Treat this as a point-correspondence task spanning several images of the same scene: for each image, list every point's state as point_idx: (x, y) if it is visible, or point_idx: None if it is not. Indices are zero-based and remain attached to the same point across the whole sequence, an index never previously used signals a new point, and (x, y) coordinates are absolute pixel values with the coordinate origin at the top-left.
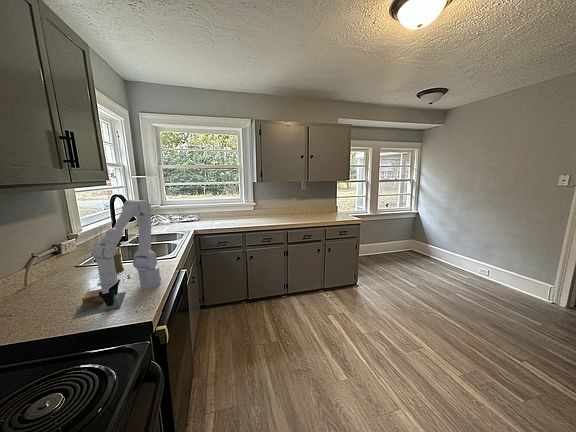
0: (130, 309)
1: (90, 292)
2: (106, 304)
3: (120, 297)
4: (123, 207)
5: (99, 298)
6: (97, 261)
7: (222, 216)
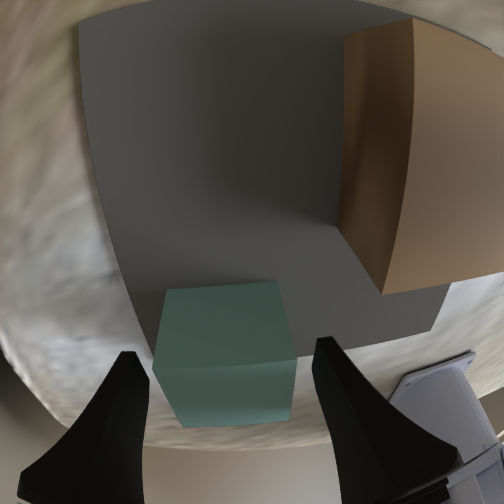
0: (149, 396)
1: None
2: (110, 371)
3: (364, 328)
4: None
5: (369, 234)
6: None
7: None
